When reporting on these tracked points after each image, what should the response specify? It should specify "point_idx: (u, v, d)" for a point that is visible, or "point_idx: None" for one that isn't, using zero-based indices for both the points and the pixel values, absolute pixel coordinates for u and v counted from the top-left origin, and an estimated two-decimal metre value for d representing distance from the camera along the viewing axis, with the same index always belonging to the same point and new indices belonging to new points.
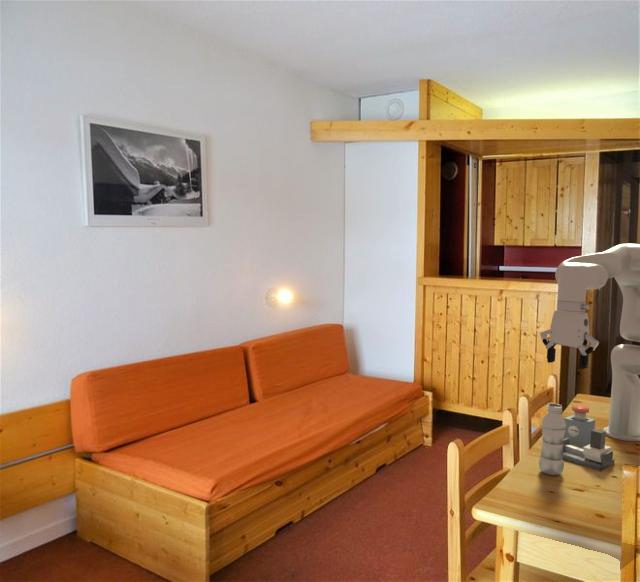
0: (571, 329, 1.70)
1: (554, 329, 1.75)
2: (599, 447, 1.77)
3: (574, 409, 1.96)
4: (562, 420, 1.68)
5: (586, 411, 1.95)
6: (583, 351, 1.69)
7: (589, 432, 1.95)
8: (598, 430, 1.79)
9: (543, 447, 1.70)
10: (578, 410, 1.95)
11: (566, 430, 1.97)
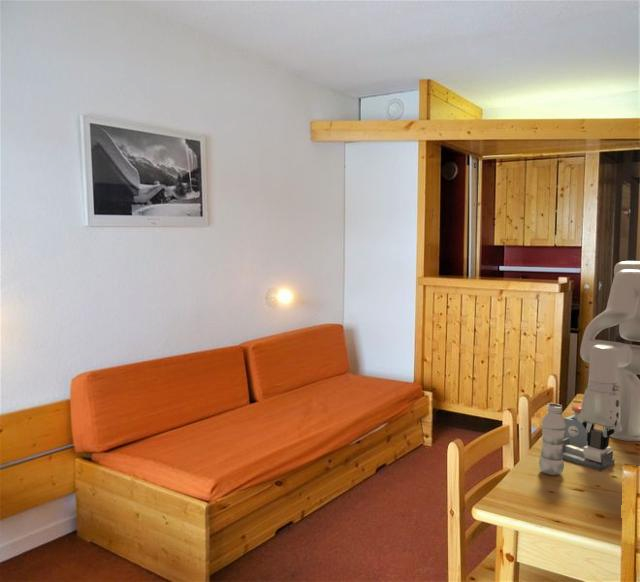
0: (603, 409, 1.75)
1: (585, 407, 1.79)
2: (599, 447, 1.77)
3: (574, 409, 1.96)
4: (562, 420, 1.68)
5: None
6: (604, 433, 1.76)
7: None
8: (598, 430, 1.79)
9: (543, 447, 1.70)
10: (578, 410, 1.95)
11: (566, 430, 1.97)
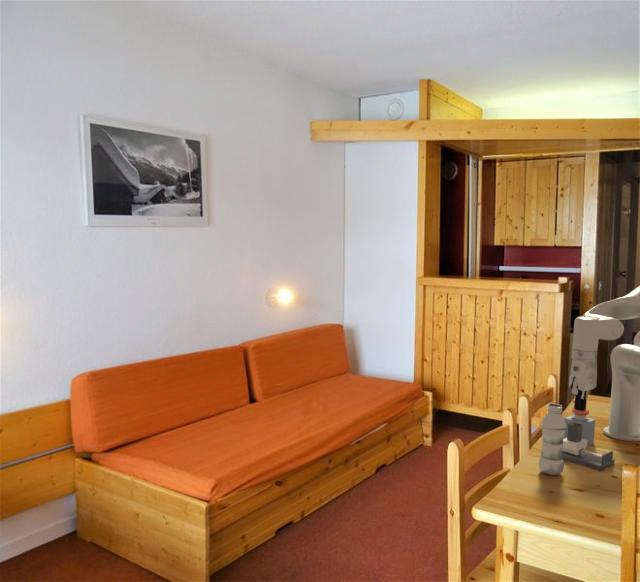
0: None
1: None
2: (576, 440, 1.83)
3: (574, 411, 1.96)
4: (562, 420, 1.68)
5: (586, 413, 1.95)
6: None
7: (589, 432, 1.95)
8: (575, 424, 1.84)
9: (543, 447, 1.70)
10: (578, 412, 1.95)
11: (566, 430, 1.97)
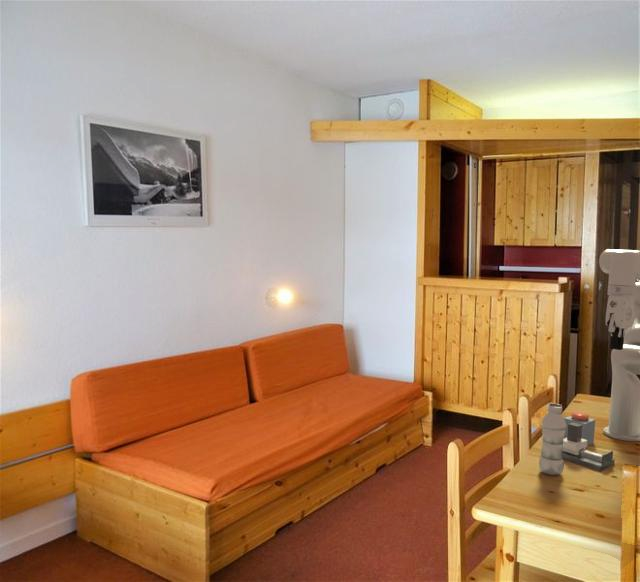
0: None
1: None
2: (576, 440, 1.83)
3: (574, 416, 1.96)
4: (562, 420, 1.68)
5: (585, 418, 1.95)
6: None
7: (589, 432, 1.95)
8: (575, 424, 1.84)
9: (543, 447, 1.70)
10: (577, 417, 1.95)
11: (566, 430, 1.97)
